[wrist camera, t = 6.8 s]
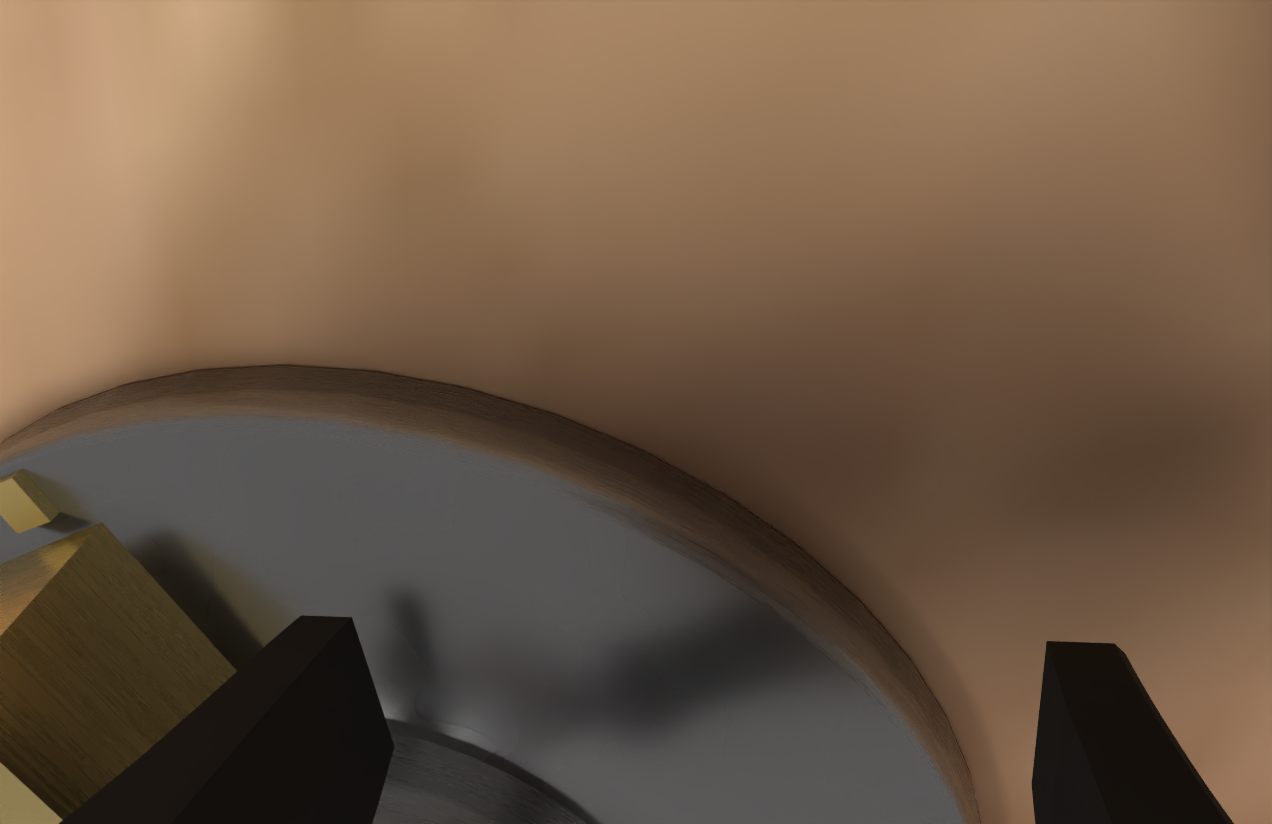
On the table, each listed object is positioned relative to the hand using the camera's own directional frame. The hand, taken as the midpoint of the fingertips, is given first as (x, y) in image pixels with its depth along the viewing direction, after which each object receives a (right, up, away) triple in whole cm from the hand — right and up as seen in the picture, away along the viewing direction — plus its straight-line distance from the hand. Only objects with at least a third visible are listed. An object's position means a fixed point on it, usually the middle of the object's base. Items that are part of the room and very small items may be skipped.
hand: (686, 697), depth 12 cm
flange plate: (-4, -4, +7) cm, 9 cm away
